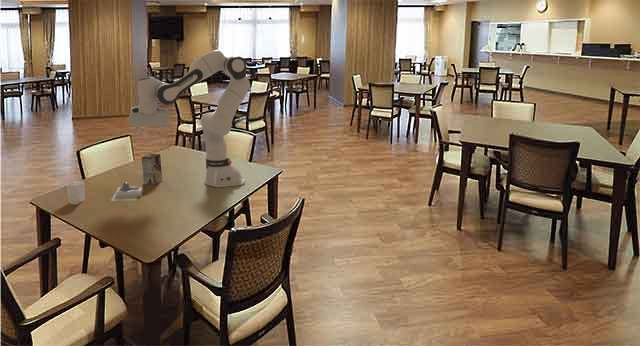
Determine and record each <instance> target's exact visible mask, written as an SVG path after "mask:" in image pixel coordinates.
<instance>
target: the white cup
mask: <svg viewBox="0 0 640 346" xmlns="http://www.w3.org/2000/svg"><path fill="white" fill-rule="evenodd" d="M65 185H66V190H67V197H68V200H69V205H80V204H81V203H83V202H85V200H86V199H85V198H86V197H85V195H86V194H85V193H86V192H85V191H86V190H85V182H84V181H83V180H72V181H69V182H66V184H65Z"/></svg>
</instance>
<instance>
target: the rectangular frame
mask: <svg viewBox="0 0 640 346" xmlns="http://www.w3.org/2000/svg"><path fill="white" fill-rule="evenodd" d="M116 190H117V191H115V192H116V198H118V197H137V198H139V197H142V196H143V193H144V186H142V185H141V186H135V185H134V186H129V190H128V191H123V186H118V187H117V189H116Z"/></svg>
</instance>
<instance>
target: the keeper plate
mask: <svg viewBox="0 0 640 346" xmlns="http://www.w3.org/2000/svg"><path fill="white" fill-rule="evenodd" d="M116 191H117V189H116ZM116 191H115V192H114V194H113V196H112V198H111V200H110V202H116V201H117V202H118V201H137V200H138V197H118V198H116Z"/></svg>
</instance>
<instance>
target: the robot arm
mask: <svg viewBox="0 0 640 346" xmlns="http://www.w3.org/2000/svg"><path fill="white" fill-rule="evenodd" d="M247 68H248V67H247V62H246V60H245V59H244V58H243V57H242V56H240V55H233V56H230V57H226V56H225V55H224V54H223V52H222V51H220V50H218V49H213V50H211V51H209V52H207V53H204V54H202V55H201V56H199V57H198V58H196V59H195V60H194V61H192V63H191V64H190V65H189V69H188V72H187V73H186V74H185V75H183V76H182V77H181V78H179V79H178V80H176V81H175V82H172V83H167V82H164V81H161V80H159V79H157V78H155V77H154V76H145V77H141V78H140V79H138V82H137V95H138V99H139V101H138V105H135V106H132V107H131V108H130V109H129V112H130V114H128V126H129V127H131V128H132V127H134V128H135V129H136V130H137V132H138V136H142V135H143V131H142V130H141V129H140V127H159V130H157V136H158V135H159V136H160V135H162V129H163V127H169V125H170V118H169V116H170V110H169V109H167V108H160V107H159V108H158V104H157V103H158V102H157V101H159V102H160V103H161V104H162V105H166V106H170V105H174V103H177V101H178V99H179V97H180V96H181V95H182V94H183V93H185V92H186V91H187V90H189V89H190V88H191V87H194V86H195V85H196V84H198V83H199V82H201V81H204V80H206V79H207V78H210V77H212V75H214V74H216V73H217V72H222V74H223V75H225V76H226V77H228V78H230V80H229V83H228V85H227V86H226V88H225V89H224V91H223V93H222V94H221V96H220V97H219V99H218V101H217V106H216V109H215V112H212V111H211V112H206V113H204V114H202V115H201V118H200V125H201V127H202V128H201V129H202V133H203V136H204V137H203V138H204V141H205V150H206V152H205V154H206V158H205V168H206V171H205V173H206V174H205V179H204V185H206V186H208V187H209V186H210V187H214V188H224V187H233V186H234V187H235V186H244V185H245V183H246V179H245V178H244V177H242V175H241V171H240V170H239V169H238V168H237V167H235V166H234V165H232V160H231V158H230V157H227V156H228V155H227V150H228V149H227V143H226V139H225V136H227V135H228V134H229V133H230V132H231V130H232V124H233V123H232V122H233V120H234V117H235V116H236V115H235V114H236V112H237V111H238V109H239V107H240V105H241V104H242V102H243V101H244V99H245V97H246V96H247V94H248V92H249V89H250V87H251V84H250V81H249V79H248V78H247Z"/></svg>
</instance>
